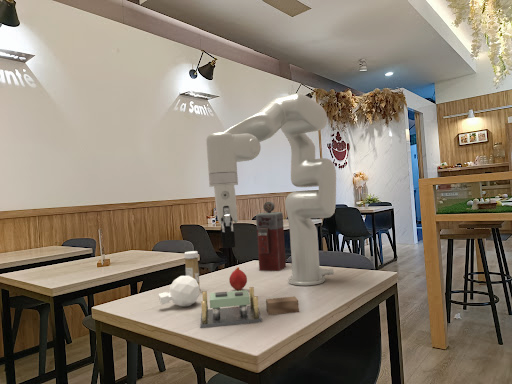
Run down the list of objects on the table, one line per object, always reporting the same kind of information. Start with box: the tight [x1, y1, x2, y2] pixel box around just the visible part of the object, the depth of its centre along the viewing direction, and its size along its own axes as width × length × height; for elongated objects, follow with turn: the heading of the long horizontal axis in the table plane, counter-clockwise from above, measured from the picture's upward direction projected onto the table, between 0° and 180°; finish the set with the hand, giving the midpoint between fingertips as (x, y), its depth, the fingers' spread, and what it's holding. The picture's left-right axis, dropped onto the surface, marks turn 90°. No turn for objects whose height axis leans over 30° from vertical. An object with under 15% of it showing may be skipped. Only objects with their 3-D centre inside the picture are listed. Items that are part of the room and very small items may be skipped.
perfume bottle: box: [158, 275, 201, 308], centre depth 113 cm, size 9×9×12 cm
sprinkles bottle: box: [183, 250, 201, 291], centre depth 129 cm, size 5×5×14 cm
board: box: [209, 289, 250, 309], centre depth 100 cm, size 10×7×3 cm
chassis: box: [199, 286, 263, 329], centre depth 100 cm, size 15×12×6 cm
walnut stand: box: [265, 296, 300, 315], centre depth 102 cm, size 8×4×3 cm, turn 97°
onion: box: [229, 266, 248, 291], centre depth 126 cm, size 6×6×8 cm
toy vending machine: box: [255, 201, 287, 272], centre depth 160 cm, size 9×11×28 cm
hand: (227, 245), depth 101 cm, fingers open, 9 cm apart
